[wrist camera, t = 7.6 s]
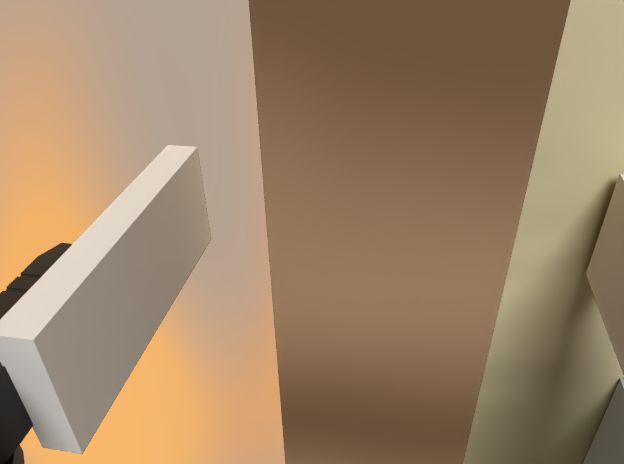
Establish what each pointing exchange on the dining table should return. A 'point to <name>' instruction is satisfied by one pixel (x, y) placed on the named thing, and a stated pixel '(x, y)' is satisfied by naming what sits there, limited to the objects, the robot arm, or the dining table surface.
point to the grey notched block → (610, 433)
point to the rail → (393, 209)
